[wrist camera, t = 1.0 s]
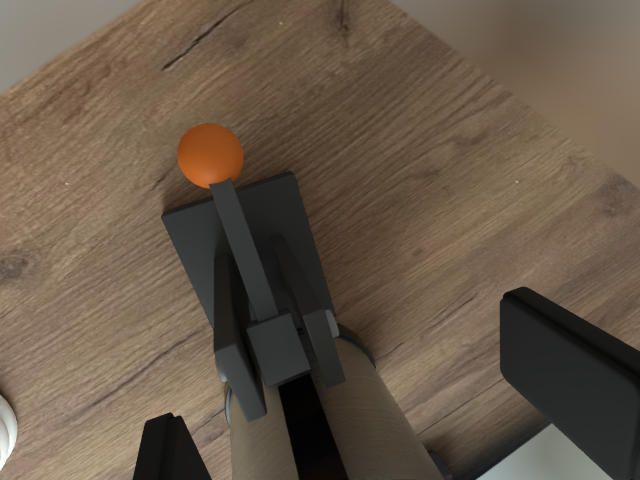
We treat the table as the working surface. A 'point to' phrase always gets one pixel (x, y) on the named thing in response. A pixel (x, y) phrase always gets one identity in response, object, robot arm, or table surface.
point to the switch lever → (243, 249)
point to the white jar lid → (6, 430)
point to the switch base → (282, 274)
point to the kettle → (328, 426)
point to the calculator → (440, 466)
